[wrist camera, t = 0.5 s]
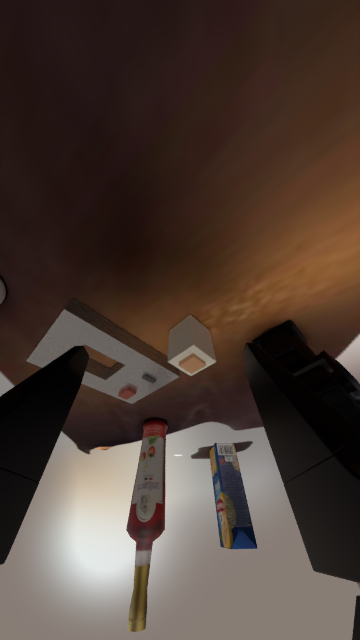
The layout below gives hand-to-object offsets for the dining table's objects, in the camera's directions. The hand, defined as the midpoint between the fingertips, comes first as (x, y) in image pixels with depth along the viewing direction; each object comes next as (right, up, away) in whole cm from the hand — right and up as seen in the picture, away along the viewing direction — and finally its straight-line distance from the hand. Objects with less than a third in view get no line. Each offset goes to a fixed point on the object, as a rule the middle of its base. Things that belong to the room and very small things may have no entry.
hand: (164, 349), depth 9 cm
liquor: (-6, -27, +38) cm, 47 cm away
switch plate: (-11, -5, +20) cm, 24 cm away
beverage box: (+16, -46, +53) cm, 72 cm away
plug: (+2, 0, +17) cm, 17 cm away
